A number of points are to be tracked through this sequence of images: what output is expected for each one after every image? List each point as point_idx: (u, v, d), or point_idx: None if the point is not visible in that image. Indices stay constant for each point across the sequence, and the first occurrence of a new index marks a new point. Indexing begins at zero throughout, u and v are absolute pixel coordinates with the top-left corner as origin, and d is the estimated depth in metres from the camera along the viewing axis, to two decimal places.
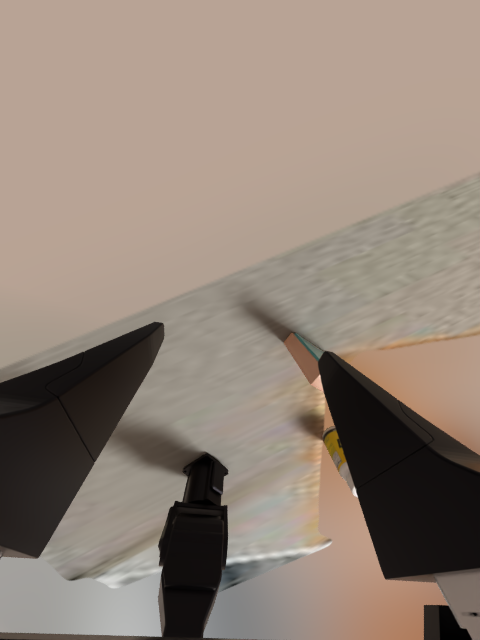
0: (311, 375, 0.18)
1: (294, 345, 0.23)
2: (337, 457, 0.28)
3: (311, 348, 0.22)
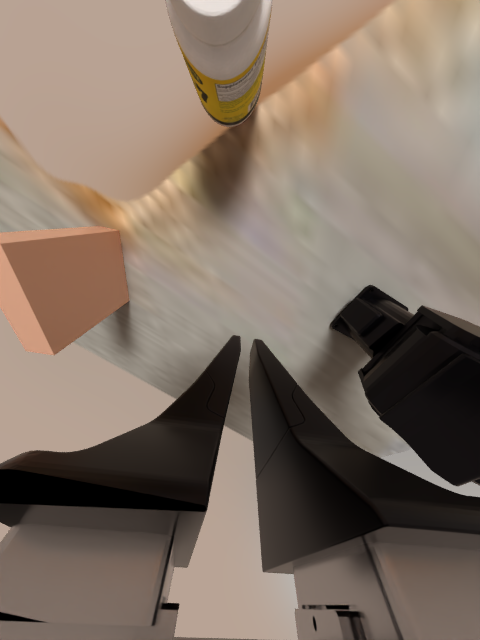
0: None
1: None
2: (224, 94, 0.10)
3: None
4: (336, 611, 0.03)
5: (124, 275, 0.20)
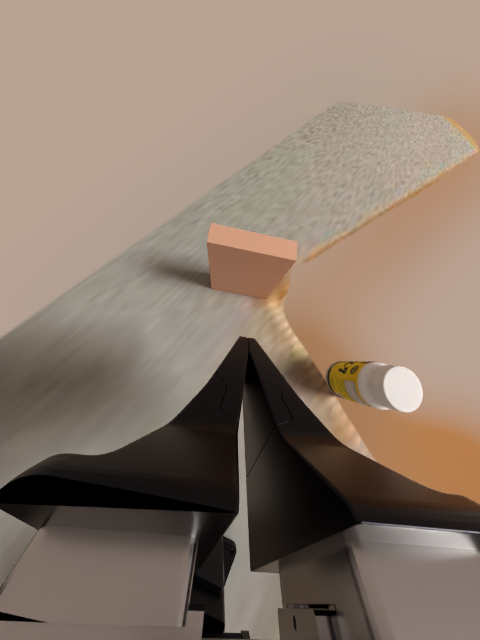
0: None
1: None
2: (349, 384, 0.19)
3: None
4: (313, 610, 0.03)
5: (234, 292, 0.24)
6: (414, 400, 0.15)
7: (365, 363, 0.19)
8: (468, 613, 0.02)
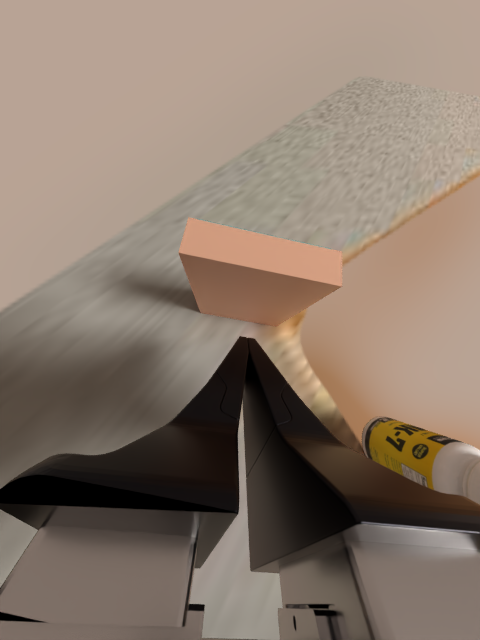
0: None
1: None
2: (412, 476, 0.12)
3: None
4: (313, 610, 0.03)
5: (232, 317, 0.17)
6: None
7: (439, 443, 0.12)
8: (468, 613, 0.02)
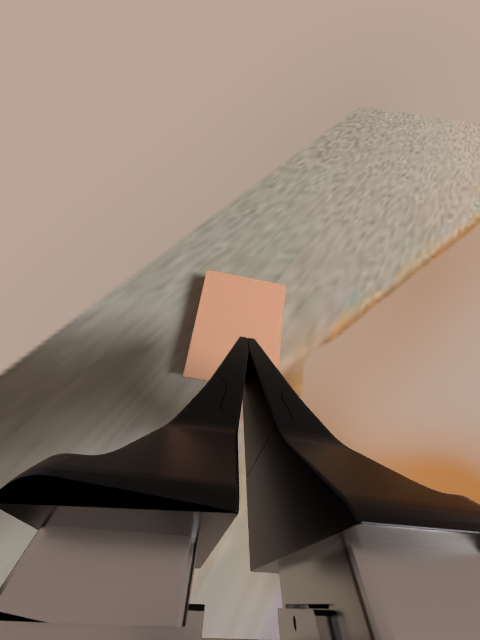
0: None
1: None
2: None
3: None
4: (314, 610, 0.03)
5: None
6: None
7: None
8: (469, 614, 0.02)
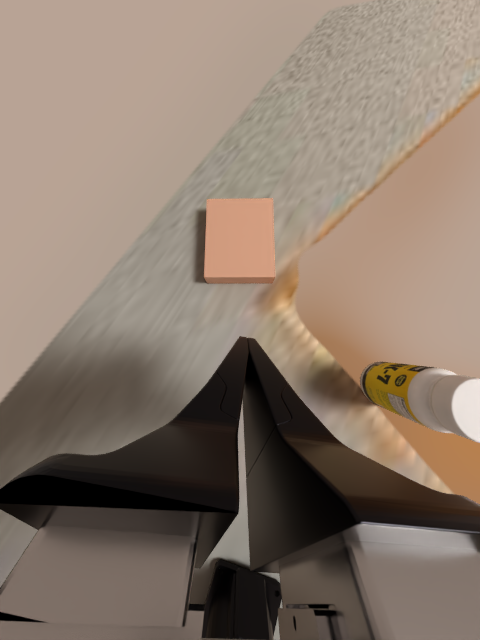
0: None
1: None
2: (395, 400, 0.15)
3: None
4: (313, 610, 0.03)
5: (233, 274, 0.19)
6: None
7: (416, 371, 0.14)
8: (469, 614, 0.02)
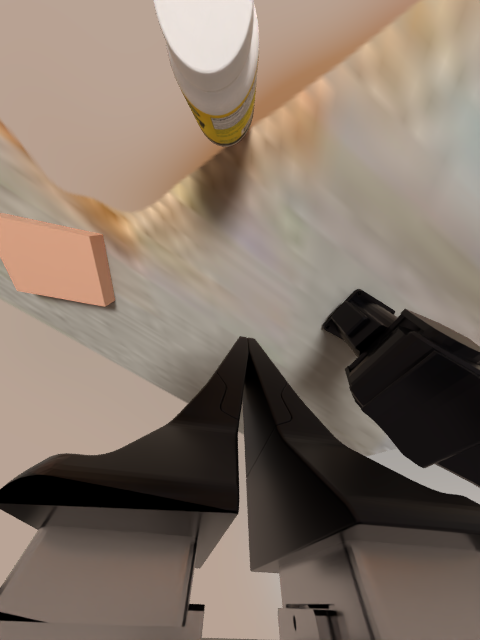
0: None
1: None
2: (219, 124, 0.11)
3: None
4: (314, 610, 0.03)
5: (96, 280, 0.20)
6: None
7: None
8: (469, 614, 0.02)
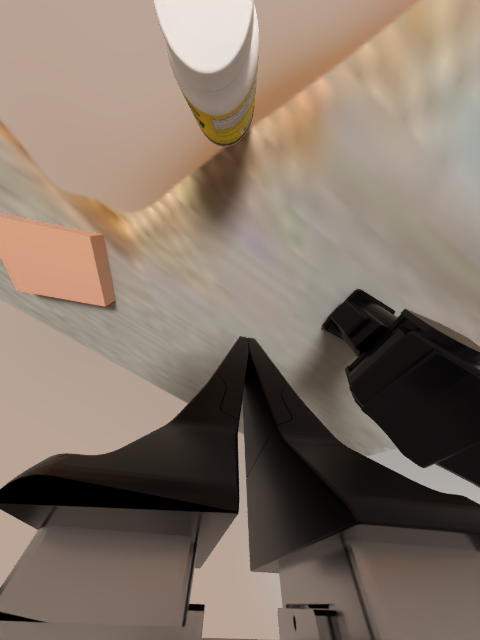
0: None
1: None
2: (219, 124, 0.11)
3: None
4: (313, 610, 0.03)
5: (96, 280, 0.20)
6: None
7: None
8: (468, 613, 0.02)
